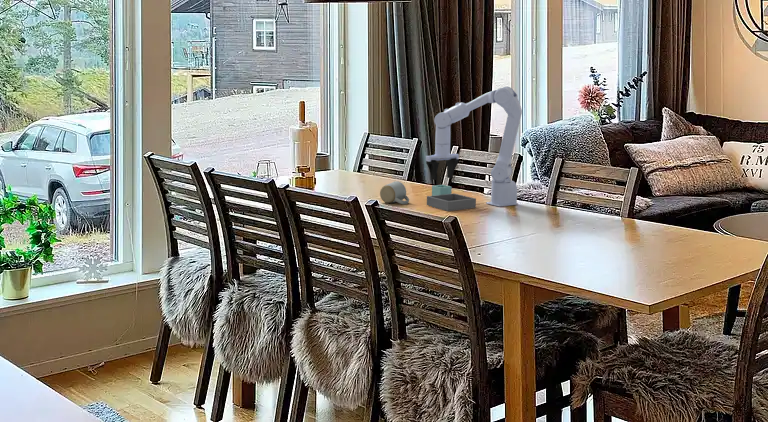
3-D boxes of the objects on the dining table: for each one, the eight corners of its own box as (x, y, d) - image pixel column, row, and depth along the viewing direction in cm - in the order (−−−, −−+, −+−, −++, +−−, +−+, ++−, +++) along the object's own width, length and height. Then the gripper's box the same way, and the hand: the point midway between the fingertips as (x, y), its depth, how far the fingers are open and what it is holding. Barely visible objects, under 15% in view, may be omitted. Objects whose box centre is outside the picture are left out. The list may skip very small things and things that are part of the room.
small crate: (442, 198, 369) (443, 184, 368) (451, 200, 364) (451, 186, 363) (431, 199, 366) (432, 185, 365) (440, 202, 361) (440, 187, 360)
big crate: (454, 202, 361) (454, 193, 360) (475, 207, 350) (475, 198, 350) (426, 205, 354) (426, 196, 353) (447, 211, 343) (448, 201, 343)
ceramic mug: (378, 202, 358) (378, 182, 357) (389, 199, 365) (390, 180, 364) (402, 206, 353) (402, 186, 351) (413, 203, 360) (413, 183, 358)
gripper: (451, 141, 368) (450, 175, 370) (421, 143, 360) (420, 178, 362) (462, 143, 362) (461, 178, 365) (432, 145, 354) (431, 181, 357)
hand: (441, 178), depth 363 cm, fingers open, 7 cm apart
